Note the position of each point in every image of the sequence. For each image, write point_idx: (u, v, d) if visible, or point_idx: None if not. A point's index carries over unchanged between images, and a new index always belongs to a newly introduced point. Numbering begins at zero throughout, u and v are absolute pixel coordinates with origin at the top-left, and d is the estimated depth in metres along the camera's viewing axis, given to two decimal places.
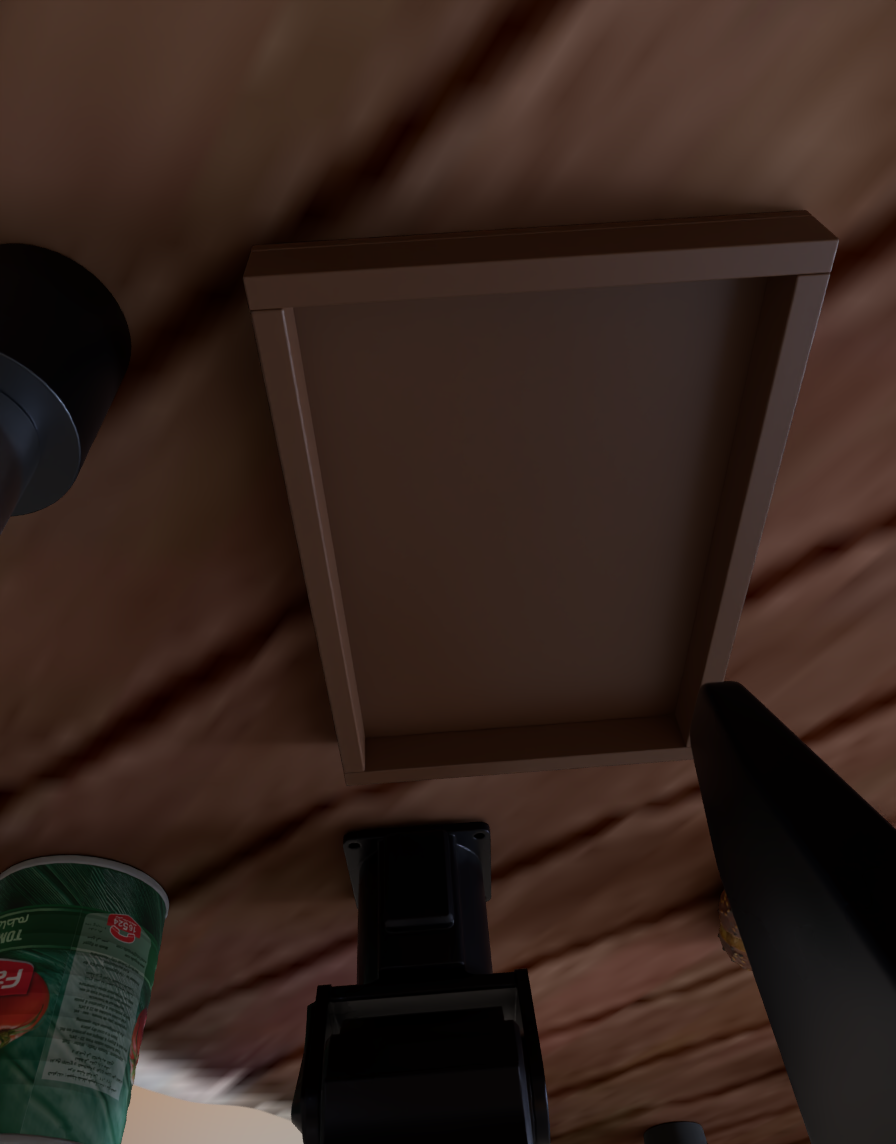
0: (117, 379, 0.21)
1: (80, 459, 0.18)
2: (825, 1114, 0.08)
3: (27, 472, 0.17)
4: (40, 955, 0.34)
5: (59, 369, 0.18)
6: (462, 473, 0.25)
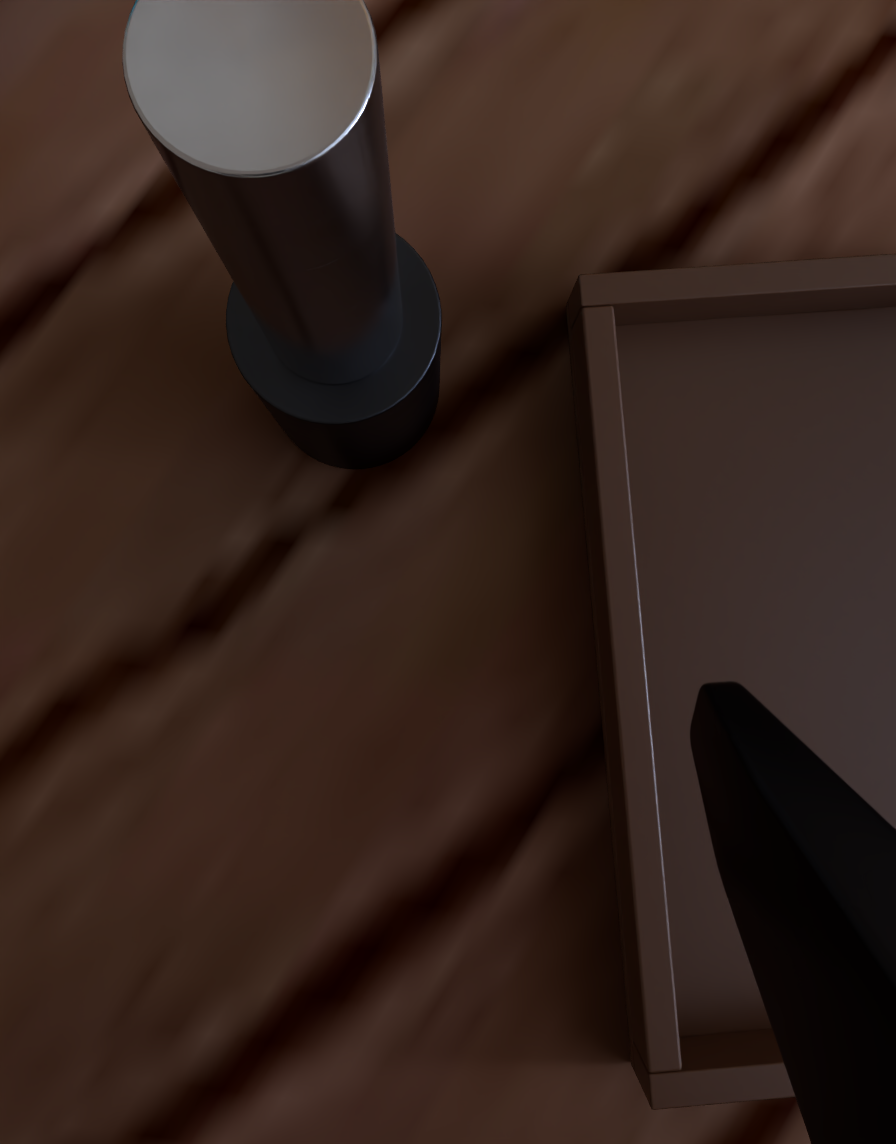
0: (436, 392, 0.21)
1: (435, 351, 0.17)
2: (824, 1114, 0.08)
3: (398, 316, 0.16)
4: None
5: None
6: (778, 545, 0.22)
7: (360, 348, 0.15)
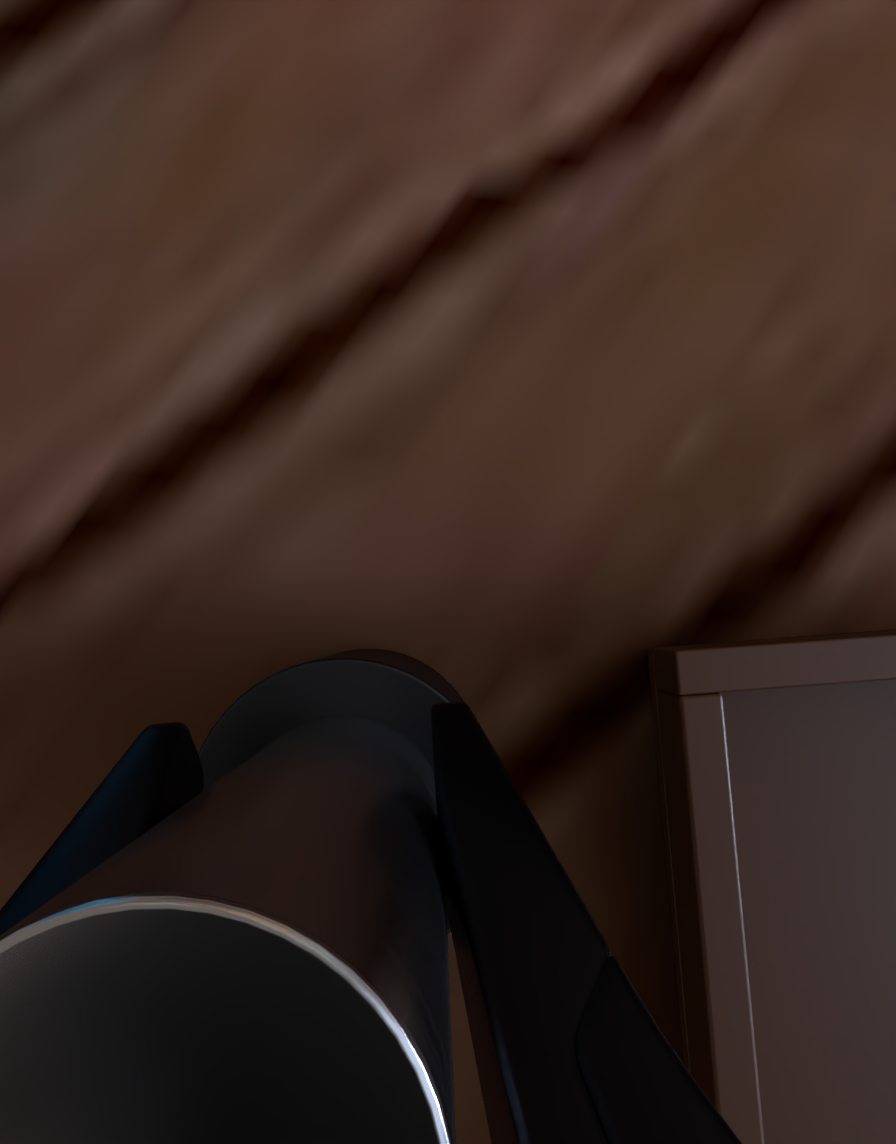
0: None
1: None
2: (494, 1141, 0.08)
3: None
4: None
5: None
6: None
7: None
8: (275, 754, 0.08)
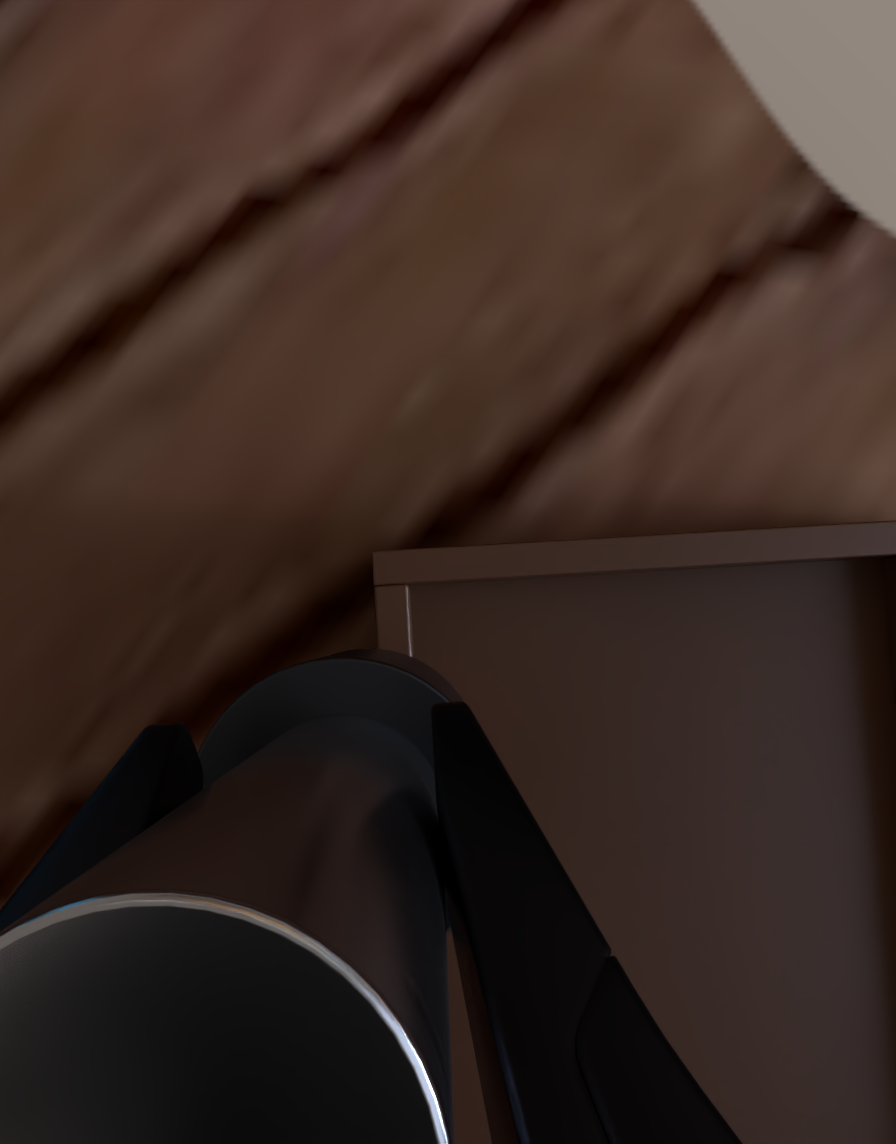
0: None
1: None
2: (494, 1141, 0.08)
3: None
4: None
5: None
6: (588, 818, 0.21)
7: None
8: (274, 753, 0.08)
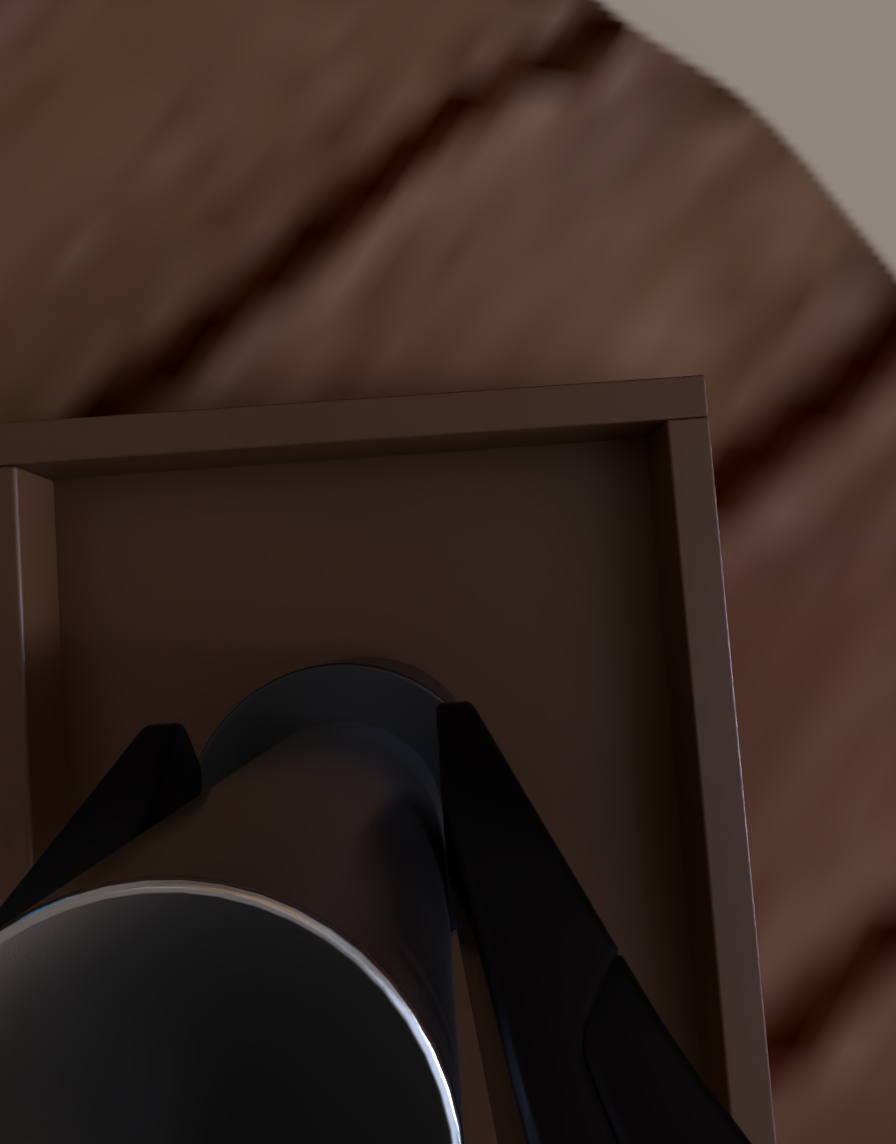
0: None
1: None
2: (500, 1141, 0.08)
3: None
4: None
5: None
6: None
7: None
8: (277, 755, 0.08)
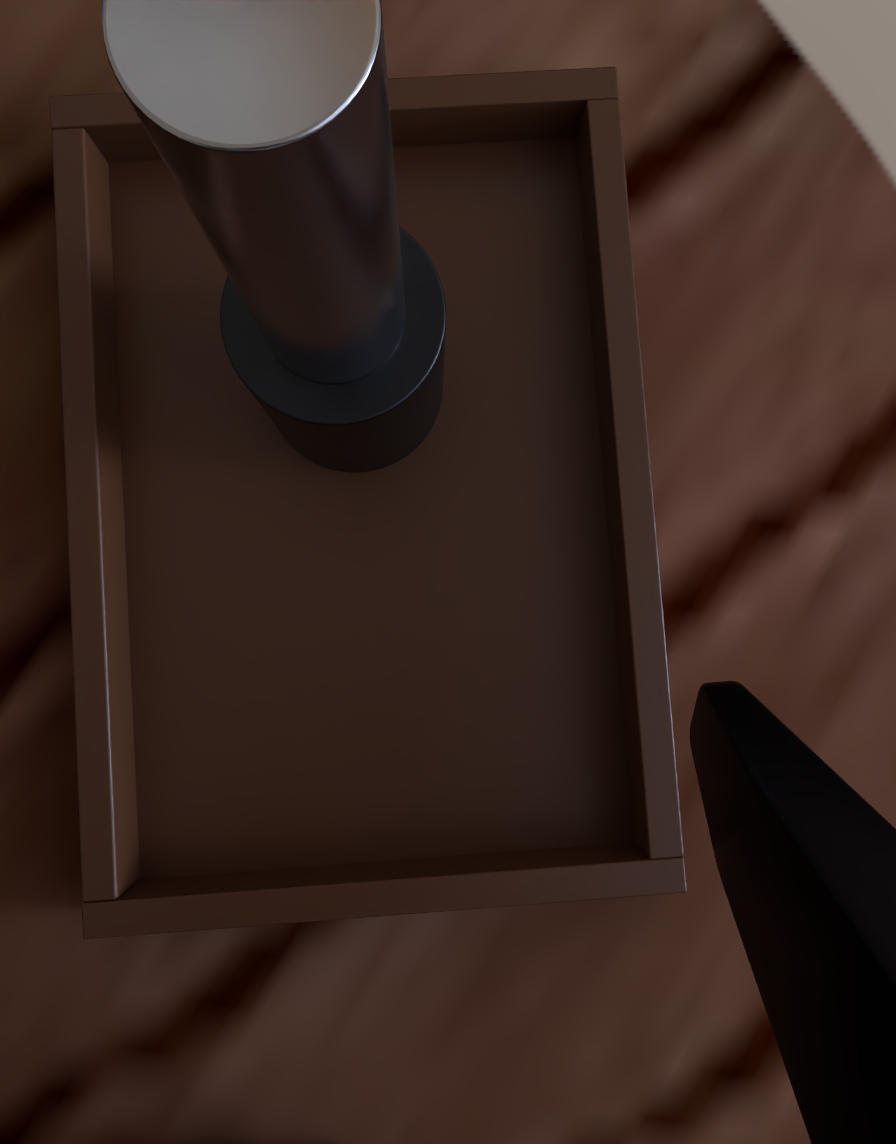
0: (439, 393, 0.20)
1: (439, 349, 0.16)
2: (824, 1113, 0.08)
3: (401, 312, 0.15)
4: None
5: None
6: None
7: (361, 344, 0.15)
8: None
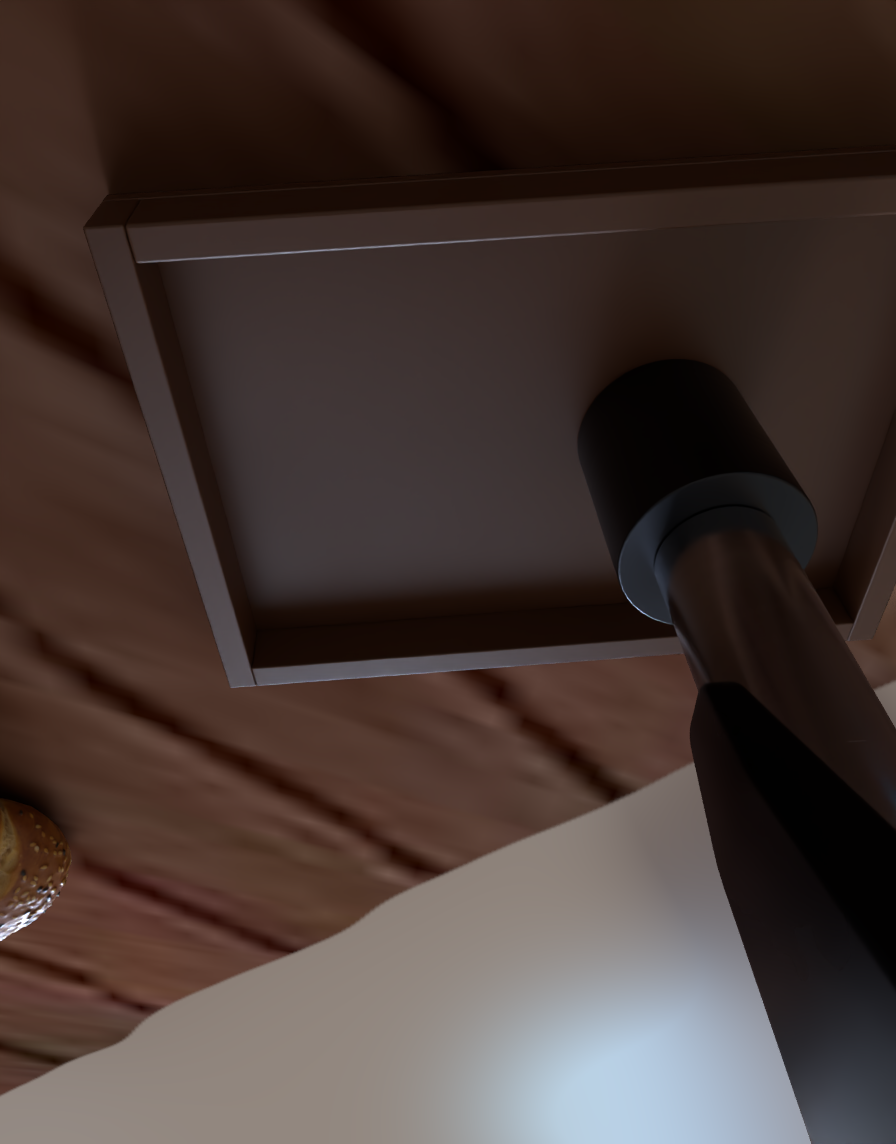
0: None
1: (667, 622, 0.20)
2: (825, 1114, 0.08)
3: None
4: None
5: None
6: None
7: (678, 636, 0.18)
8: None
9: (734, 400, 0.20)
